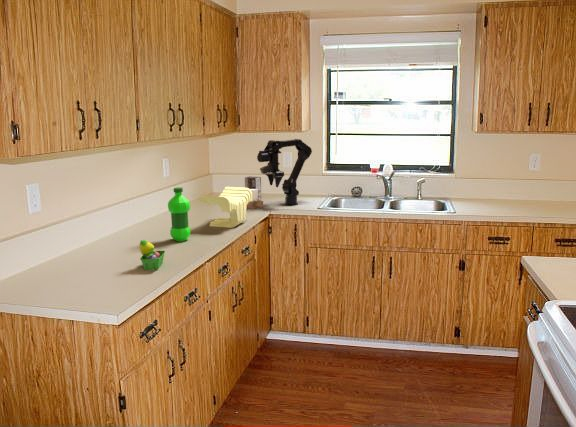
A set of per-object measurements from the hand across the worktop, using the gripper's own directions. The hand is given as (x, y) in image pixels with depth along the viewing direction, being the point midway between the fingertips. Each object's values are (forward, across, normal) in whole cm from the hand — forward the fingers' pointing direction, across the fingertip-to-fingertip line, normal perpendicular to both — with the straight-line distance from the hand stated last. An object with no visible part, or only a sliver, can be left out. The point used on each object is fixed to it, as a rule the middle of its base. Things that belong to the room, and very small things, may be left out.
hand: (274, 186), depth 328 cm
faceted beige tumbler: (+9, -6, -12) cm, 16 cm away
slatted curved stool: (+13, +33, -40) cm, 54 cm away
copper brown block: (+13, -6, -12) cm, 19 cm away
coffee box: (+13, -24, -5) cm, 28 cm away
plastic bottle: (+13, +54, -71) cm, 90 cm away
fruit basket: (+13, +91, -91) cm, 129 cm away
